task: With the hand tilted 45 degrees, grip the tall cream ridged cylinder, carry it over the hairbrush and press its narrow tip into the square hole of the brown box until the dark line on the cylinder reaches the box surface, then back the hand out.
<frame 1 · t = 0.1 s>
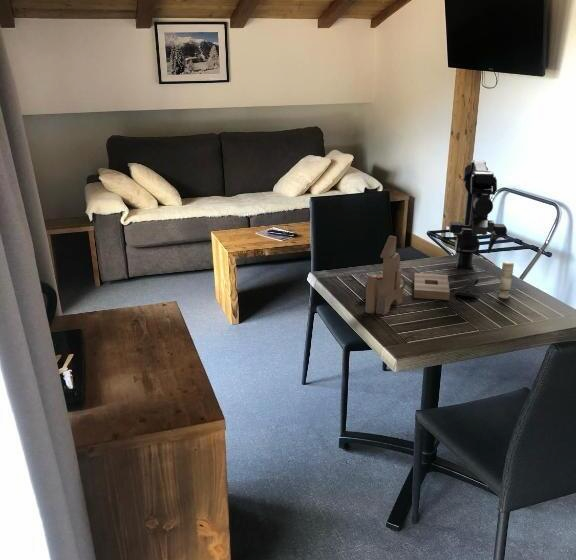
hand: (474, 252, 202), 15 cm above the table, tool pointing down, fingers open, 9 cm apart
brown box: (430, 289, 209), on the table
wooden toy: (383, 307, 193), on the table
hairbrush: (469, 290, 210), on the table
cream ridged cylinder: (503, 296, 202), on the table
tin: (384, 297, 203), on the table
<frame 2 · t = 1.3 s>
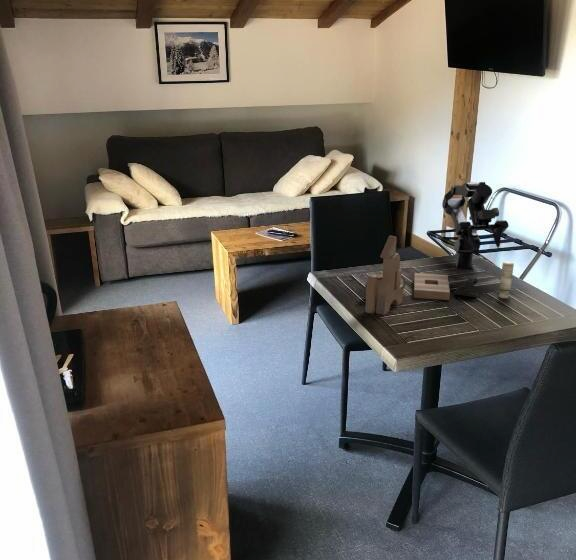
hand: (486, 247, 212), 13 cm above the table, tool tilted 45°, fingers open, 9 cm apart
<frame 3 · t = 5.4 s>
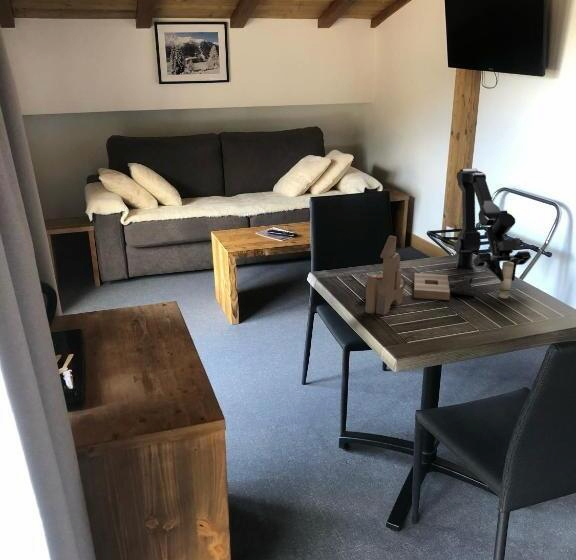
hand: (508, 280, 198), 7 cm above the table, tool tilted 45°, fingers closed on cream ridged cylinder, 4 cm apart
hairbrush: (464, 288, 211), on the table
cream ridged cylinder: (503, 296, 202), on the table, touching gripper
everything else where it was.
when the fingers open (7 cm above the table, at t = 10.8 s): cream ridged cylinder stays where it is, resting in brown box.
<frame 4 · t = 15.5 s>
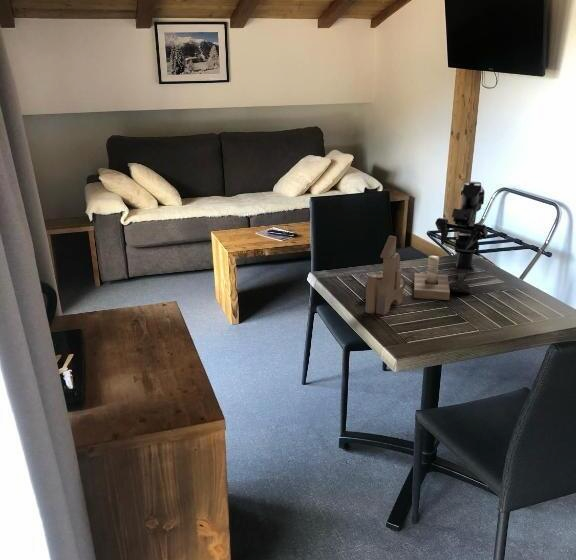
hand: (453, 246, 212), 14 cm above the table, tool tilted 45°, fingers open, 9 cm apart
hairbrush: (459, 286, 214), on the table
cream ridged cylinder: (430, 289, 209), resting in brown box
everything else where it was.
at the end: cream ridged cylinder 0.0 cm off-centre on the brown box, point 0.0 cm above the brown box's base; cream ridged cylinder tilted 0°; the gripper is holding nothing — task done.
